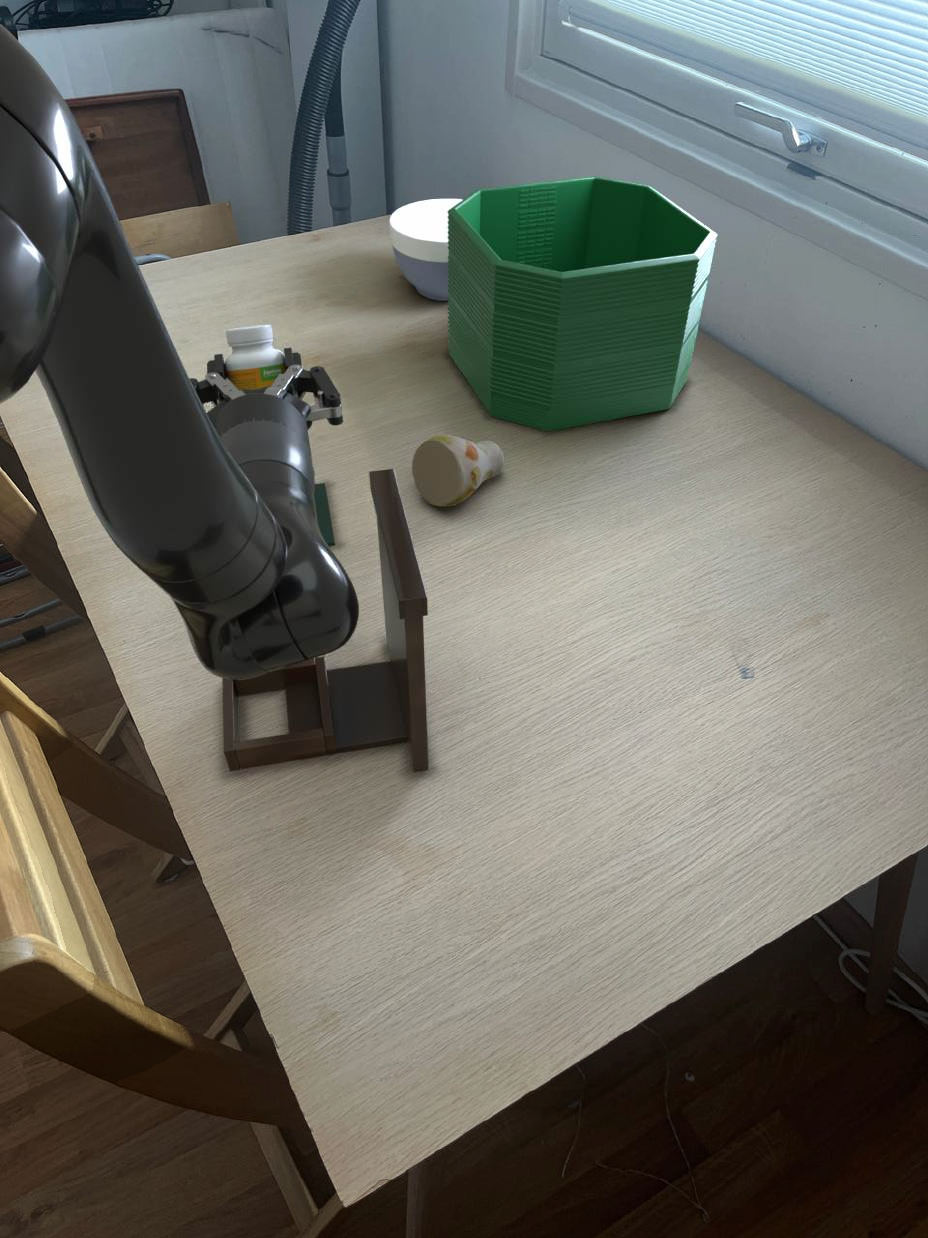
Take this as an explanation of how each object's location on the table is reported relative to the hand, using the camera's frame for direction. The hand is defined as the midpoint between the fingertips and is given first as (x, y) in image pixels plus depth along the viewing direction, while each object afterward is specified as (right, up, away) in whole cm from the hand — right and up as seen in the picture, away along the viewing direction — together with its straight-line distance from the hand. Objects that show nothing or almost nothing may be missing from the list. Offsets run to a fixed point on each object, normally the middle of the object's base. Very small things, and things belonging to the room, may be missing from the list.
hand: (254, 360), depth 78 cm
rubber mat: (0, -13, +10) cm, 17 cm away
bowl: (+16, +25, +49) cm, 57 cm away
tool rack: (+7, -31, -8) cm, 33 cm away
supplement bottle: (+1, -6, +3) cm, 7 cm away
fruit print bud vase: (+18, -9, +14) cm, 25 cm away
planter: (+31, +8, +32) cm, 46 cm away
